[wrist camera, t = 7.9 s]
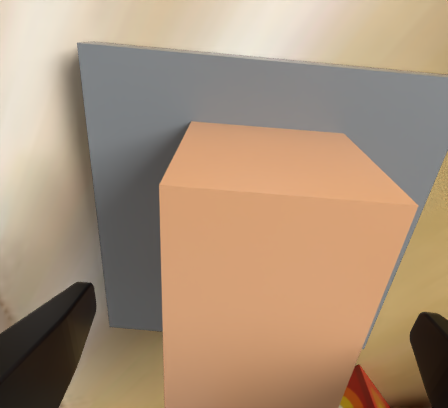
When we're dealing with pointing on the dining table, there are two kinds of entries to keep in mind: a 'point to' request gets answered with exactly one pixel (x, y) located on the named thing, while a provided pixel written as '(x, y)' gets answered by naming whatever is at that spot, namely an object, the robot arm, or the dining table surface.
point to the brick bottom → (272, 264)
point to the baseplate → (235, 115)
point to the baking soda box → (362, 392)
